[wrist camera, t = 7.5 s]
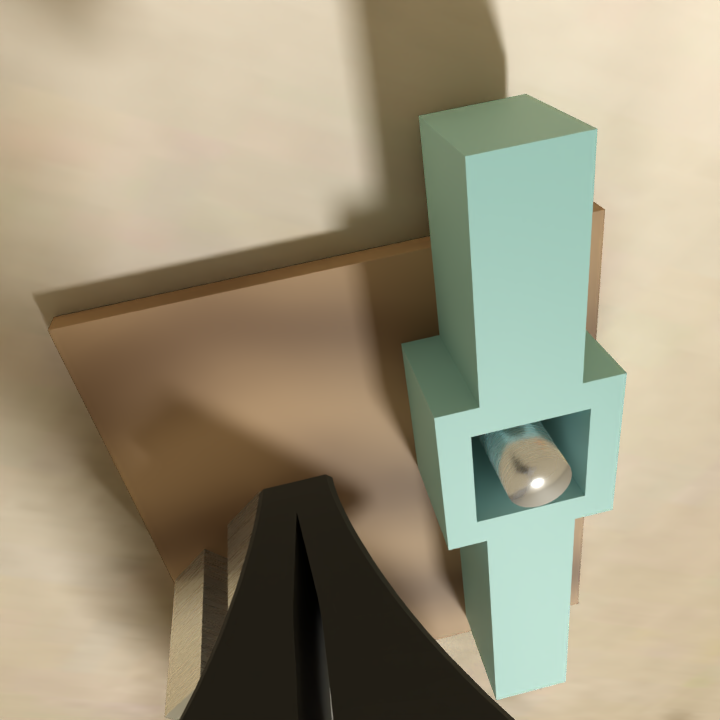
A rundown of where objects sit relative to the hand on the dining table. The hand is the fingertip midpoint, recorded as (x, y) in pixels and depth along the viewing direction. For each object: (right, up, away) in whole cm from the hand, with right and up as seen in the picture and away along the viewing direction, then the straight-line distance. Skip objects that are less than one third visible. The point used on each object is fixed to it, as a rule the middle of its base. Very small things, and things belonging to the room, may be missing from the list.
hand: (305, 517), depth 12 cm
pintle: (+5, +2, +11) cm, 12 cm away
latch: (+6, +1, +11) cm, 13 cm away
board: (+2, -2, +13) cm, 13 cm away
